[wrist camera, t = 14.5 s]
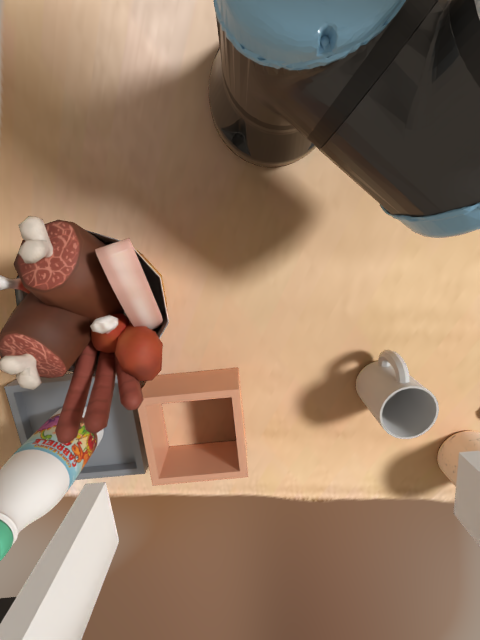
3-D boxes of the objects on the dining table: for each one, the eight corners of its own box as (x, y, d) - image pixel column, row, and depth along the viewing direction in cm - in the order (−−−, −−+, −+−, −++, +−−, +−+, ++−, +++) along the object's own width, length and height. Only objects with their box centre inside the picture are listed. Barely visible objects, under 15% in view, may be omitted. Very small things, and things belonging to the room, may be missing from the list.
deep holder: (150, 375, 48) (135, 398, 41) (238, 367, 48) (238, 389, 41) (163, 452, 51) (152, 485, 45) (246, 445, 51) (247, 476, 44)
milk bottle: (97, 455, 50) (10, 592, 31) (47, 438, 49) (-75, 569, 30) (111, 413, 49) (29, 530, 29) (60, 395, 48) (-60, 504, 28)
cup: (354, 406, 50) (379, 442, 41) (353, 344, 47) (379, 368, 39) (402, 401, 50) (437, 435, 41) (403, 338, 47) (440, 361, 39)
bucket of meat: (37, 244, 43) (-121, 250, 24) (154, 204, 42) (87, 177, 23) (98, 377, 48) (7, 471, 29) (205, 344, 47) (184, 419, 28)
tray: (15, 379, 48) (4, 386, 46) (131, 368, 48) (125, 375, 45) (42, 472, 52) (33, 483, 50) (149, 462, 52) (145, 473, 49)
